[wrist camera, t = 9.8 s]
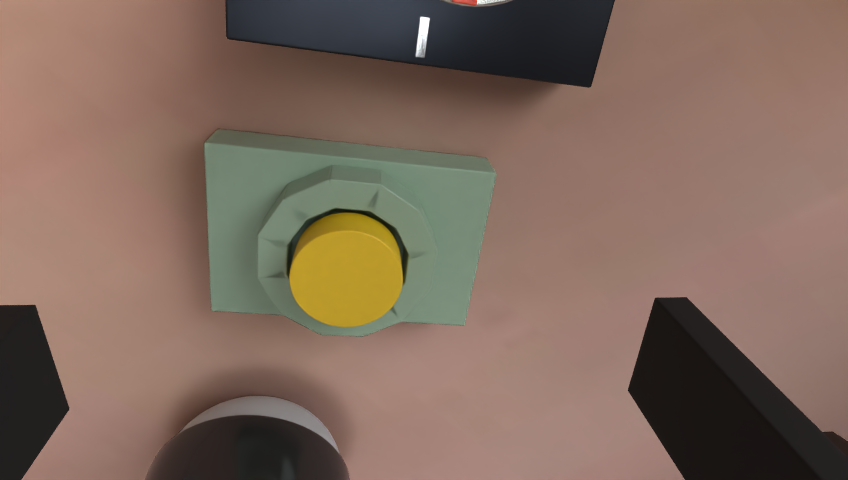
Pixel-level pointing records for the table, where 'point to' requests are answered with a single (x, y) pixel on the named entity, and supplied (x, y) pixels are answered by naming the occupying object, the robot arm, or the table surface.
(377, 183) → the button box
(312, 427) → the pump dispenser
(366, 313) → the button
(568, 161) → the table surface
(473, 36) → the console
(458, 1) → the dial
